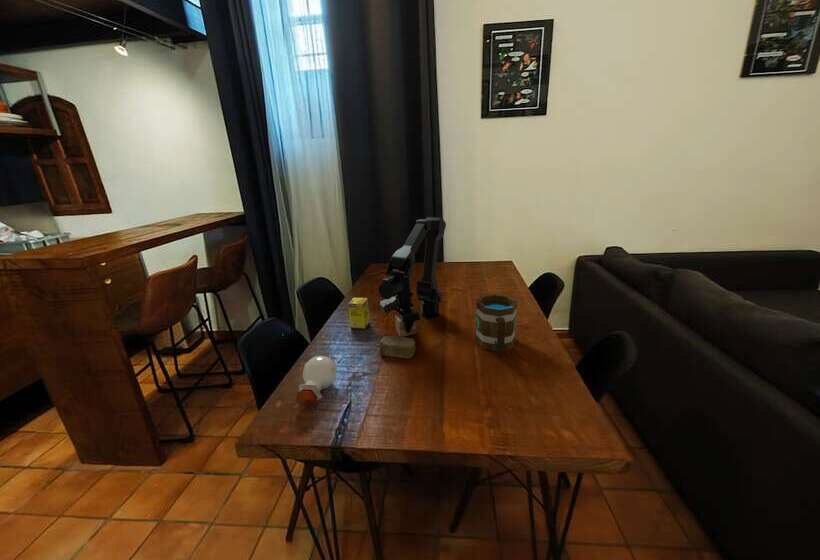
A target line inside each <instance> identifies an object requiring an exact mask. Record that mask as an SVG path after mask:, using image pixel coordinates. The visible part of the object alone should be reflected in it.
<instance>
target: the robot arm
mask: <svg viewBox="0 0 820 560" xmlns="http://www.w3.org/2000/svg"><path fill="white" fill-rule="evenodd" d="M446 227H447V223H446V221H445V220H444V218H442V217H429V216H427V217H426V218H425V219H424V218H423V219H422V218H421V219H420V218H419V219H417V220H415V223H414V227H413V228H412V229H411V232H410V234H409V235H408V237H407V239H406V241H405V242H404V244H403V246H402V247H400V248H398V249H397V250H396V251H395V252H394V253H393V254H392V256H391V257H390V260H389V263H388V266H387V268H386V272H385V276H386V278H383V279H382V282H381V283H380V284H379V287H378V292H379V295H380V296H381V298H383V299H382V300H381V301H380V302H379V305H380V306H381V308H382V310H383V312H384V314H387V315H388V314H389V313H391V312H393V311H396V312H397V315H399V314H400V317H399V318H400V319H401V321H402V322H404V325H405V329H406V332H407V333H409V332H410V330H411V328H412V326H413V324H414V322H415V323H416V321H420V320H421V314H422V316H423V317H424V318H425V319H427V318H429V319H430V318H434V317H440V316H441V313H440V309H439V305H440V303H442V300H443V294H442V293H441V291H440V290H439V283H438V281H437V279H436V274H437V273H436V272H437V261H438V256H439V255H438V254H439V245H440V240H441V239H442V238H443V236H444V235H445V231H446ZM424 238H425V242H426V243H425V250H424V259H423V260H424V261H423V270H422V277H421V278H420V279H419V280H417V281H416V290H415V291H416V292H415V293H416V297H417V300H418V301H421V304H420V313H421V314H420V313H419V310H417V309H416V308H414V304H415V303H414V302H413V298H412V297H413V296H414V292H413V291H412V280H411V278H412V277H411V276H413V274H415V273H414V271H412V270H413V268H414V265H415V263H416V257H415V255H416V253H417V252H418V249H419V247H420V246H421V244H422V242H423V240H424ZM411 307H412V308H411Z"/></svg>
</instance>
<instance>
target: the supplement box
mask: <svg viewBox="0 0 820 560" xmlns="http://www.w3.org/2000/svg"><path fill="white" fill-rule="evenodd" d="M347 306H348V313H349V323H350V329H351V330H360V331H365V330H366V329H367V328H368V326H369V325H370V323H371V321H370V311H369V301H368V297H353V298H351V300H350V301H349V302H348V305H347Z"/></svg>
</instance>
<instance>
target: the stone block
mask: <svg viewBox="0 0 820 560" xmlns="http://www.w3.org/2000/svg"><path fill="white" fill-rule="evenodd" d="M415 353H416V342H415V339H414V337H412V338H409V337H406V336H403V337H400V336H392V335H391V336H389V335H388V336H387V335H385V336H383V337H382V338H381V341H380V343H379V354H380V355H381V356H384V357H392V358H401V359H412V358H413V357H414V355H415Z"/></svg>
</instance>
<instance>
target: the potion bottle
mask: <svg viewBox="0 0 820 560" xmlns="http://www.w3.org/2000/svg"><path fill="white" fill-rule="evenodd" d="M337 371H338V370H337V364H336V363H335V362H334V361H333V360H332V359H331V358H330V357H328V356H325V355H316V356H313V357H311V358H310V359H309V360H307V362H306V363H305V364H304V367H303V371H302V378H303V381H304V382H305V383H302V384H301V383H300V384H298V385H299V386H298V391H296V396H295V397H296V398H295V403H297V404H298V405H300V406H303V407H304V408H306V409H308V410H309V409H312V407H315V406H317V404H319V401H320V399H322V398H323V397H324V396H323V395H322V393H321V390H325V389H329V387H330V386H332V385H333V383H334V382H335V381H336V377H337V373H338V372H337Z"/></svg>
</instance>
